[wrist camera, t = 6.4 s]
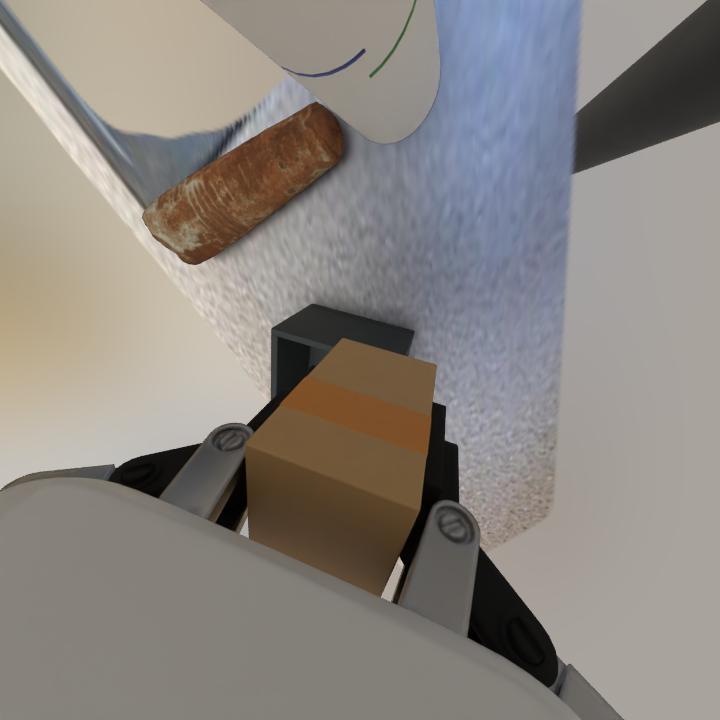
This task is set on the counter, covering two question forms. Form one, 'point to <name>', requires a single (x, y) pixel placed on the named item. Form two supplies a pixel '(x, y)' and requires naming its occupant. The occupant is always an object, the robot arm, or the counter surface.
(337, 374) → the carton
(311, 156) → the bread
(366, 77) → the cylindrical container
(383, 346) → the bin
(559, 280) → the counter surface
